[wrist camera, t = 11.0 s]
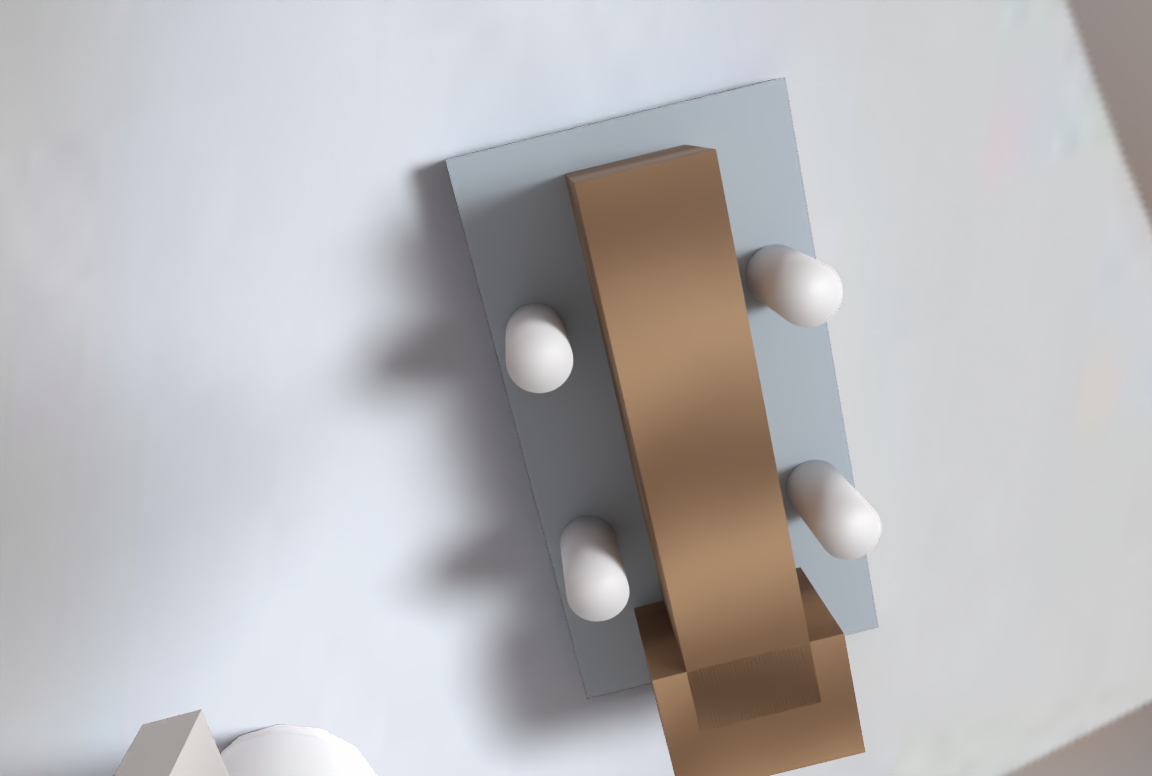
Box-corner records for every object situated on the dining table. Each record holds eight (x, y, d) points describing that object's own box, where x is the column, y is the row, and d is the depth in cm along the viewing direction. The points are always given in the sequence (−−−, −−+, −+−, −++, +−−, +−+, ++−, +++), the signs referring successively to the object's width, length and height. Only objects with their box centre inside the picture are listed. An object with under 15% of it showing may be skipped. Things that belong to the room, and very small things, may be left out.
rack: (447, 158, 30) (437, 166, 25) (774, 79, 30) (823, 72, 25) (584, 679, 35) (596, 765, 30) (866, 610, 35) (921, 685, 30)
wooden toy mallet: (530, 182, 29) (535, 193, 25) (719, 136, 29) (755, 139, 25) (658, 712, 34) (680, 797, 30) (820, 673, 34) (864, 751, 30)
